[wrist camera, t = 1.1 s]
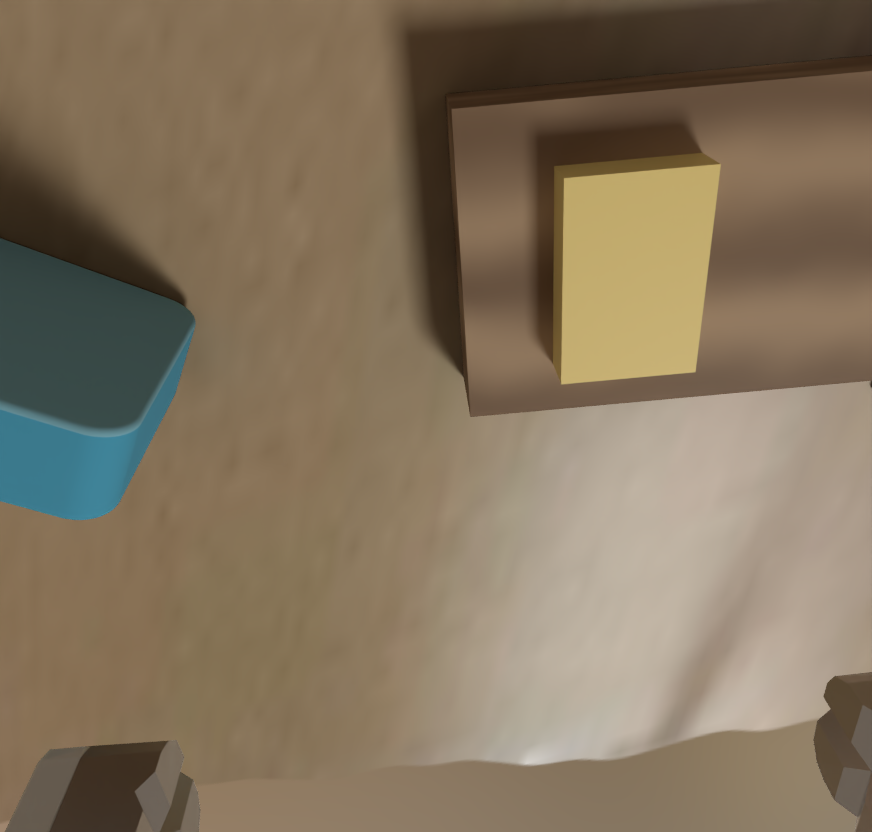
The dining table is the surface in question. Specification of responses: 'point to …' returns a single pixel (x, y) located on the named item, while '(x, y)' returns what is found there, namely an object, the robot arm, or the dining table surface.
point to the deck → (731, 239)
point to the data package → (80, 381)
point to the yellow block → (631, 265)
